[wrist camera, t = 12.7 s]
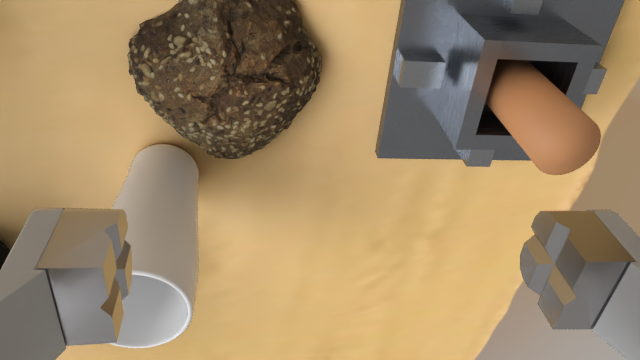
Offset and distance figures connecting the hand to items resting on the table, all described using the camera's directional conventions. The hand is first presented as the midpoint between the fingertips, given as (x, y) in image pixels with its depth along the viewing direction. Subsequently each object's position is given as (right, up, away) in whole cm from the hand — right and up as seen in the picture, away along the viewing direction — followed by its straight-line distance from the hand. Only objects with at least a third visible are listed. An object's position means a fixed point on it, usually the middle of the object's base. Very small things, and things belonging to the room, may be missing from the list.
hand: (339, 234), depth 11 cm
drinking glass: (-13, +2, +33) cm, 35 cm away
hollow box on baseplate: (+13, +10, +31) cm, 35 cm away
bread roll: (-7, +10, +29) cm, 31 cm away
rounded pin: (+13, +9, +30) cm, 34 cm away
